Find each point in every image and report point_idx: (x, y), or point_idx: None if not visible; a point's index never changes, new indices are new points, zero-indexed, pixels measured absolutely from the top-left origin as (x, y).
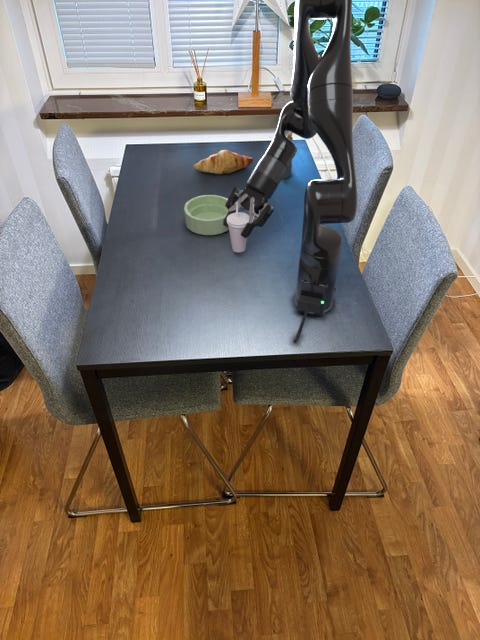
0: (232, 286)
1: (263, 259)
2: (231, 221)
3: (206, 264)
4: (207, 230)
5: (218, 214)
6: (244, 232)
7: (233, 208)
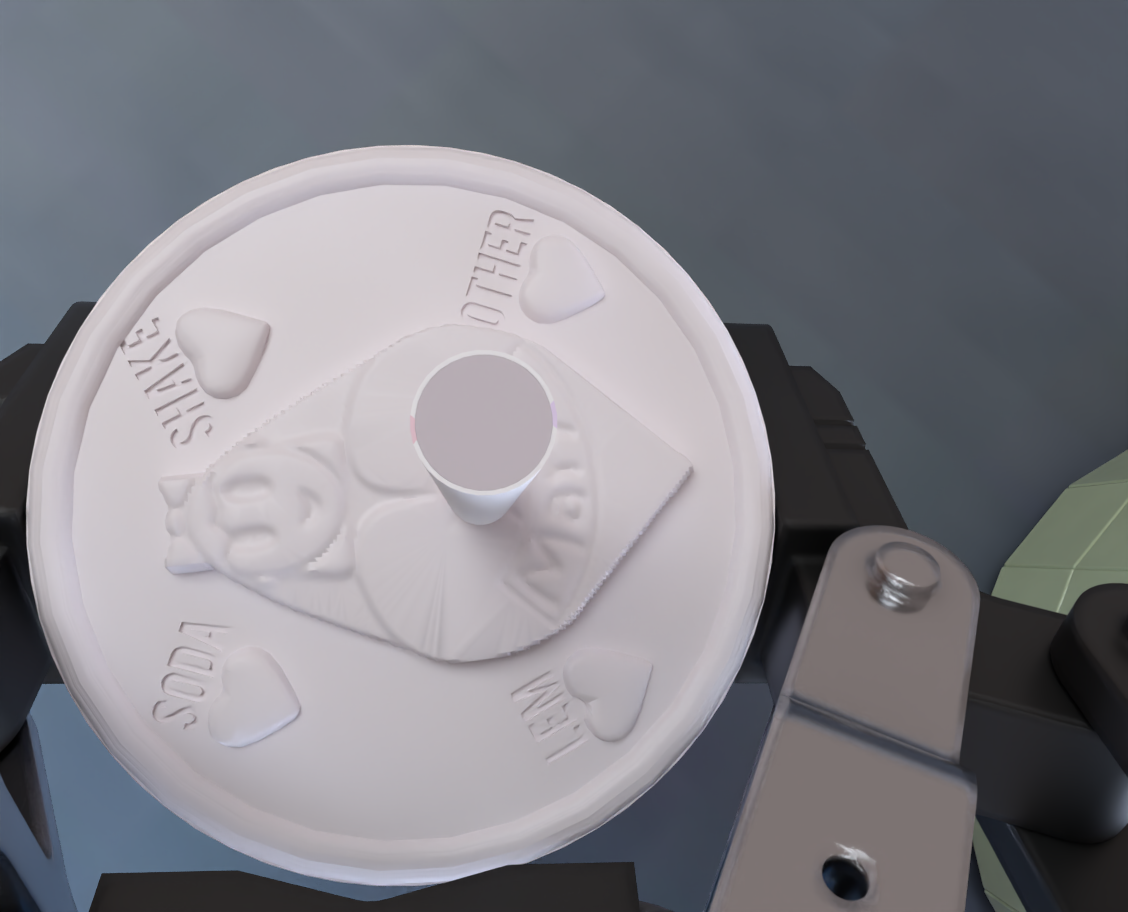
0: (49, 35)
1: None
2: (448, 228)
3: (591, 113)
4: (1092, 510)
5: None
6: (51, 355)
7: (839, 644)
